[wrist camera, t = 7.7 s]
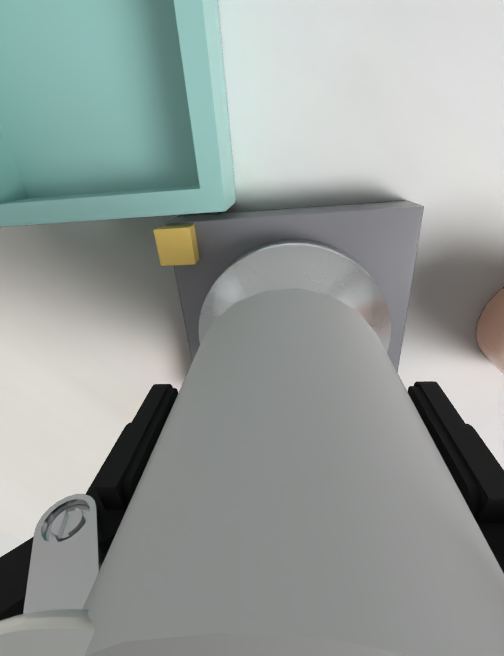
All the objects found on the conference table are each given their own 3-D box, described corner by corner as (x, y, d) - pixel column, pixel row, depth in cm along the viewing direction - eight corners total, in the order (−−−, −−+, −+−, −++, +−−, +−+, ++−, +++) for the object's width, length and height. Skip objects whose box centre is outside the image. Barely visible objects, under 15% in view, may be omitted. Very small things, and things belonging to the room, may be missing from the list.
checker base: (407, 200, 15) (431, 209, 13) (381, 389, 20) (395, 421, 18) (172, 216, 16) (152, 227, 14) (204, 389, 21) (193, 420, 19)
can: (325, 241, 11) (874, 1329, 1) (407, 388, 14) (792, 1106, 3) (167, 336, 14) (-216, 923, 3) (262, 447, 16) (223, 974, 6)
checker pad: (395, 232, 14) (404, 239, 13) (374, 397, 18) (380, 413, 17) (190, 244, 15) (183, 251, 14) (216, 397, 19) (211, 411, 18)
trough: (202, -156, 11) (172, -268, 8) (236, 201, 16) (225, 211, 13) (-88, -95, 12) (-204, -173, 9) (30, 216, 17) (-21, 228, 14)
